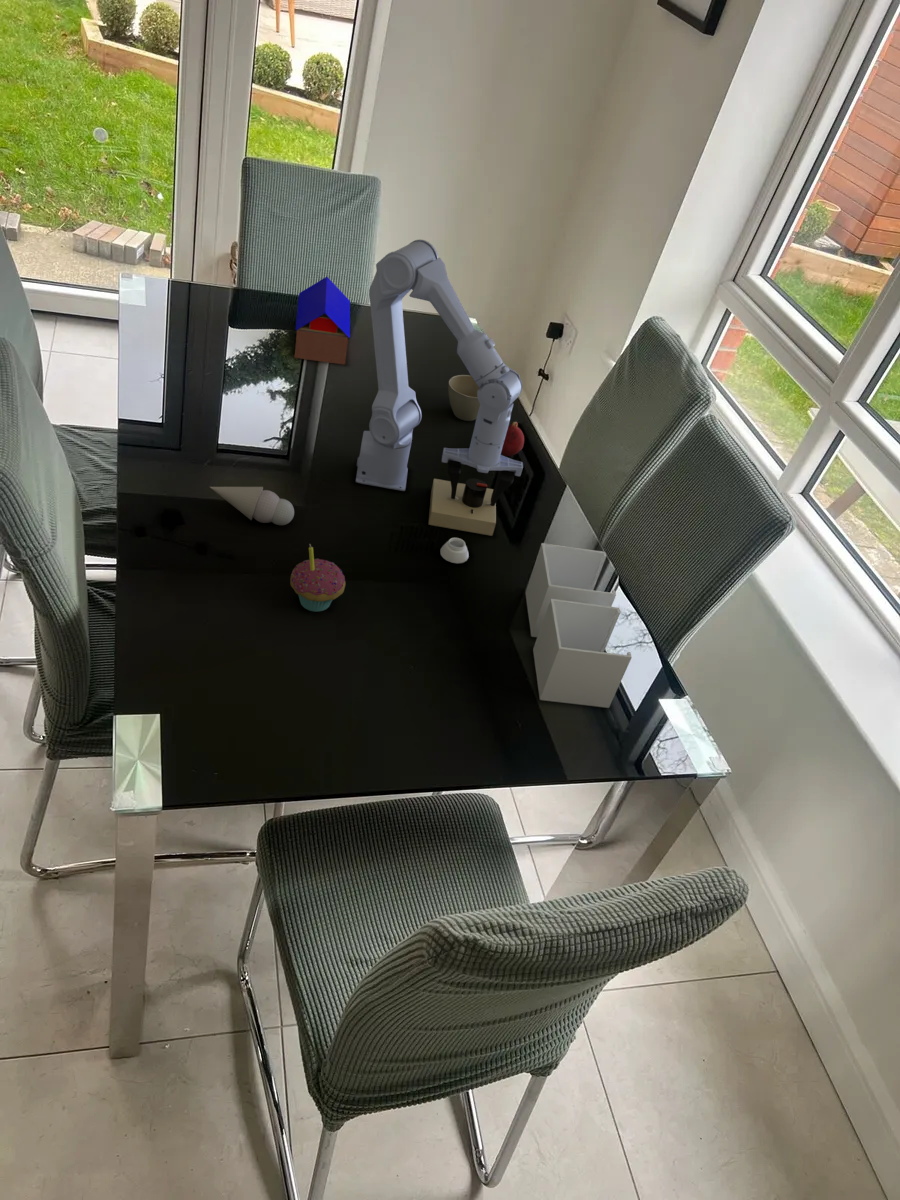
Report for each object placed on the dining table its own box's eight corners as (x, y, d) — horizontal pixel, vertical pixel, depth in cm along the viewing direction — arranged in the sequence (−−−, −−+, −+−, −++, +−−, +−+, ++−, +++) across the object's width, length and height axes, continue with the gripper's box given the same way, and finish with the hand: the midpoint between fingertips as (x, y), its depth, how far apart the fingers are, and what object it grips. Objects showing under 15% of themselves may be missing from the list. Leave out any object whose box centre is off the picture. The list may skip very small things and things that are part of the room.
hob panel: (428, 524, 167) (431, 510, 165) (431, 491, 175) (434, 477, 173) (492, 536, 168) (496, 522, 166) (492, 502, 176) (495, 488, 174)
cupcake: (298, 623, 141) (306, 563, 133) (280, 588, 146) (286, 529, 138) (350, 613, 145) (359, 555, 137) (330, 580, 150) (338, 521, 142)
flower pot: (495, 416, 202) (502, 388, 198) (472, 432, 195) (479, 402, 191) (458, 398, 205) (464, 369, 201) (434, 413, 198) (440, 383, 194)
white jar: (453, 543, 164) (434, 553, 161) (456, 530, 162) (437, 540, 159) (473, 558, 162) (454, 568, 159) (476, 545, 160) (457, 555, 157)
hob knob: (461, 505, 168) (465, 487, 165) (461, 493, 171) (466, 475, 168) (482, 509, 168) (487, 491, 166) (482, 497, 172) (487, 479, 169)
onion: (517, 466, 188) (526, 433, 183) (490, 459, 188) (499, 425, 183) (521, 453, 193) (530, 420, 187) (494, 445, 193) (503, 412, 188)
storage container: (525, 592, 157) (541, 542, 150) (586, 601, 159) (605, 552, 152) (539, 699, 138) (559, 648, 131) (608, 707, 140) (631, 657, 133)
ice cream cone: (205, 504, 158) (288, 533, 161) (201, 502, 152) (287, 532, 155) (216, 471, 158) (299, 500, 161) (213, 468, 152) (299, 498, 155)
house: (293, 358, 205) (297, 308, 197) (296, 319, 219) (301, 272, 212) (346, 365, 207) (352, 317, 199) (346, 326, 222) (352, 280, 214)
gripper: (447, 440, 157) (433, 504, 166) (529, 455, 158) (511, 518, 167) (448, 420, 162) (435, 483, 171) (528, 435, 164) (510, 497, 173)
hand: (472, 499), depth 169 cm, fingers open, 7 cm apart
